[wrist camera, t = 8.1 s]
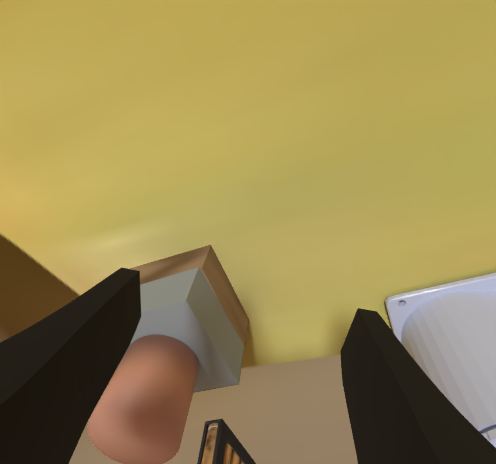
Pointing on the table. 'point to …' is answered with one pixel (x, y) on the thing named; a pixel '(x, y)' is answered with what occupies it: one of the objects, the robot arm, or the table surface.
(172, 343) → the pink cylinder
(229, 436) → the ammunition clip
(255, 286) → the table surface
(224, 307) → the tower base
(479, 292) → the robot arm
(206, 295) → the tower top
